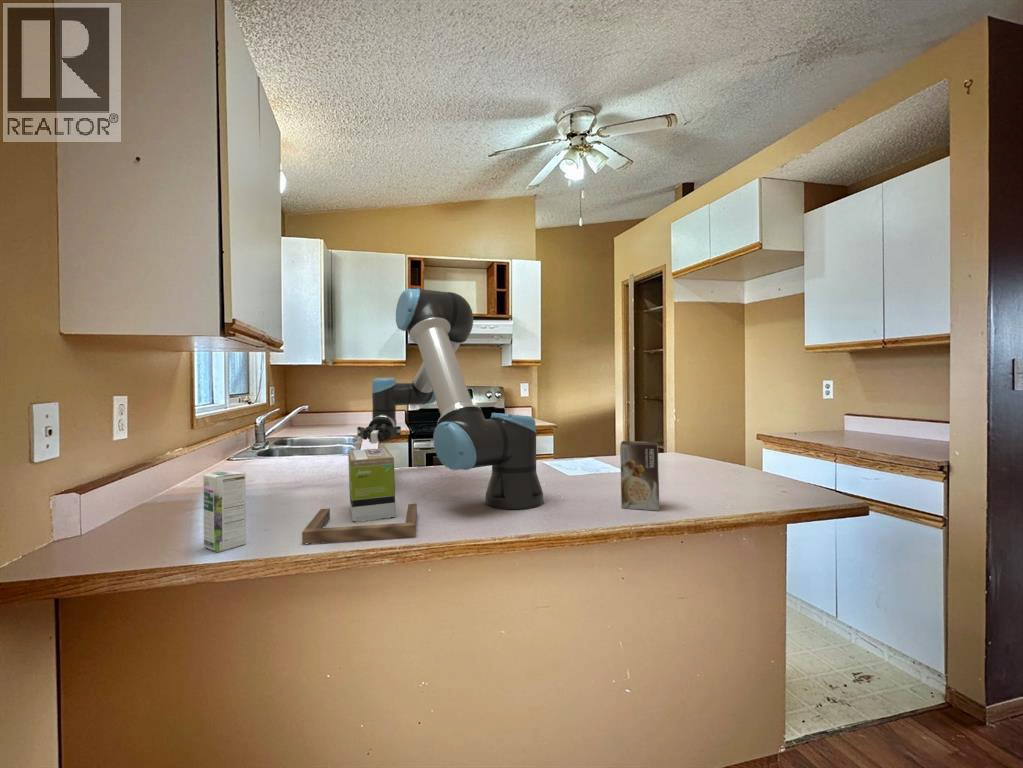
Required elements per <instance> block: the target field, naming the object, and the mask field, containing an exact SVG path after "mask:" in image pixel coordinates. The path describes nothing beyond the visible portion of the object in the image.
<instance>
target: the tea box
mask: <svg viewBox="0 0 1023 768" xmlns="http://www.w3.org/2000/svg"><path fill="white" fill-rule="evenodd" d="M347 456H348V460H347V461H348V481H349V482H348V484H349V485H348V486H349V488H348V489H349V505H350V514H351V520H352V522H353V521H362V520H371V521H374V520H373V519H379V520H382V519H381V518H387V519H392V518H391V517H394V518H396V488H395V487H396V486H395V481H396V480H395V459H394V456H393V455H392V454H391V452H390V451H389V449H387V448H386V447H385V448H384V447H383V448H381V447H380V448H368V449H367V448H366V449H357V450H348V455H347ZM362 522H363V521H362Z"/></svg>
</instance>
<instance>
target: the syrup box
mask: <svg viewBox="0 0 1023 768" xmlns="http://www.w3.org/2000/svg"><path fill="white" fill-rule="evenodd" d="M202 482H203V548H204V549H206V548H207V549H209V550H211V551H213V552H216V553H220V552H223V551H227V550H231V549H235V548H237V547H240V546H244V545H246V544H247V513H246V512H247V511H246V510H247V509H246V508H247V506H246V505H247V503H246V502H247V500H246V499H247V498H246V496H247V494H246V492H247V491H246V488H247V486H246V472H238V471H233V470H222V471H215V472H214V471H213V472H208V473H205V474H203V481H202Z"/></svg>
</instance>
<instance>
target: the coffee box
mask: <svg viewBox="0 0 1023 768" xmlns="http://www.w3.org/2000/svg"><path fill="white" fill-rule="evenodd" d="M658 444H659V443H658V441H641V440H640V441H637V440H636V441H633V440H622V441H621V442H620V445H619V447H620V448H619V451H620V457H619V458H620V498H621V499H620V500H621V501H620V502H621V506H620V508H621V509H625V510H626V509H627V510H643V511H644V510H645V511H658V512H659V511H660V507H661V505H660V504H661V503H660V483H659V482H660V481H659V478H660V475H659V445H658Z"/></svg>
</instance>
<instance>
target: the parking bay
mask: <svg viewBox="0 0 1023 768" xmlns="http://www.w3.org/2000/svg"><path fill="white" fill-rule="evenodd" d="M417 510H418V505H417V503H408V505H407V510H406V516H405V522H403V523H402V522H401V523H398V522H397V523H383V524H382V523H381V524H369V525H368V524H367V525H353V526H351V525H350V526H348V525H347V526H334V527H326V526H325V525H327V524H328V523H329V521H330V520H331V511H330V508H320V509H319V510H318V512H317V513H316V514H315V515H314V517H313V518H311V521H310V522H309V523H308V524H307V525H306V526H305V528H304V529H303V531H302V532H301V539H302V541H301V543H302V544H306V543H308V544H306V545H310V544H309V543H321V544H323V543H322V542H337V543H341V542H340V541H352V542H356V541H355V540H367V541H377V540H376V539H382V540H392V539H393V538H397V539H408V538H410V539H411V538H416V531H417V518H418V516H417V515H418V511H417ZM329 519H330V520H329ZM328 520H329V521H328ZM327 522H328V523H327ZM326 523H327V524H326ZM324 526H325V527H324ZM323 527H324V528H323ZM302 544H301V545H302Z"/></svg>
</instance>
